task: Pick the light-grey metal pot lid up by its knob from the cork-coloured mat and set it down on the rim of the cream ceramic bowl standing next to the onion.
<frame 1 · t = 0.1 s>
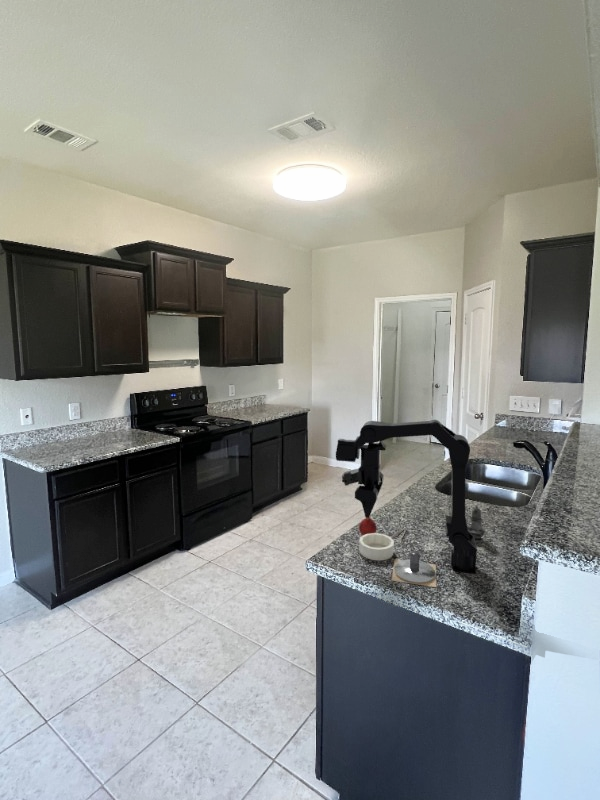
hand: (369, 511, 133), 15 cm above the counter, fingers open, 9 cm apart
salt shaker: (475, 539, 144), on the counter
bowl: (376, 552, 136), on the counter
lid: (414, 572, 124), resting on mat
onion: (367, 538, 146), on the counter
mat: (414, 573, 124), on the counter
tweezers: (402, 535, 150), on the counter
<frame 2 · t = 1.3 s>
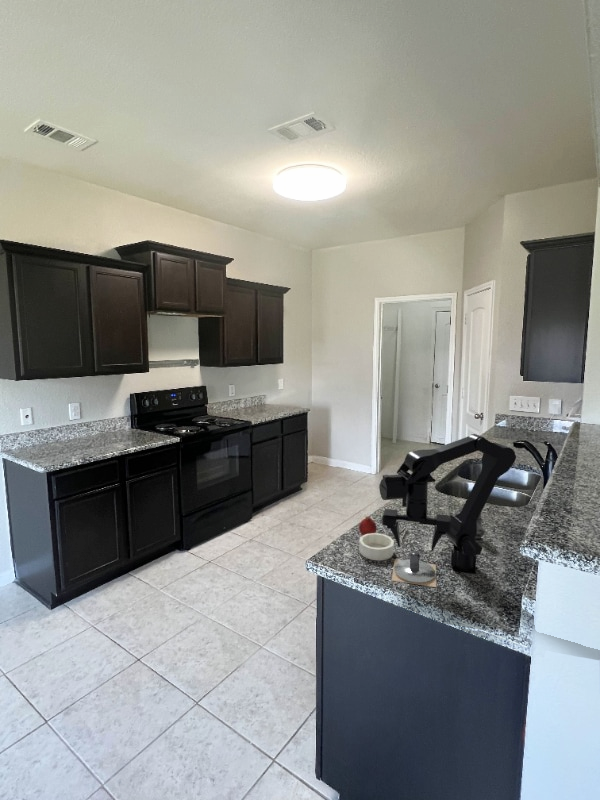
hand: (415, 548, 123), 8 cm above the counter, fingers open, 9 cm apart
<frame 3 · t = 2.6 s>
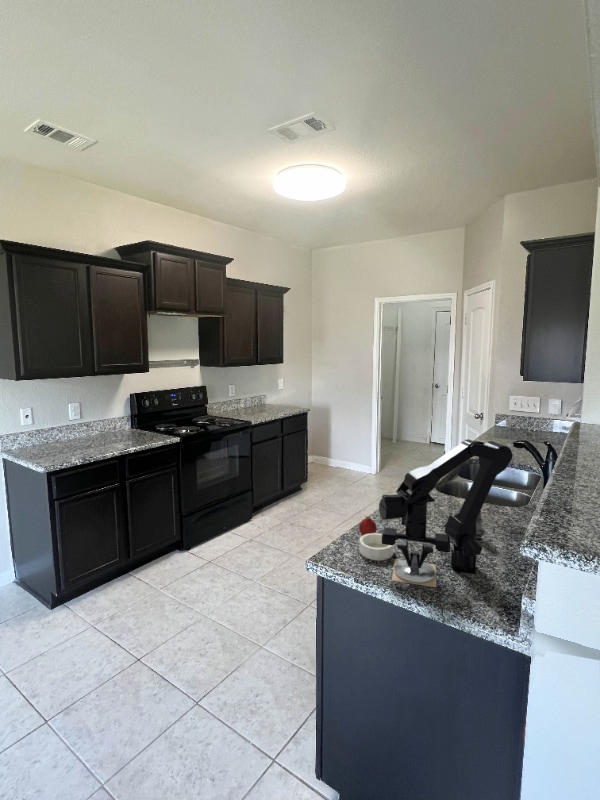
hand: (414, 566, 124), 2 cm above the counter, fingers closed on lid, 3 cm apart
lid: (414, 572, 124), resting on mat, touching gripper
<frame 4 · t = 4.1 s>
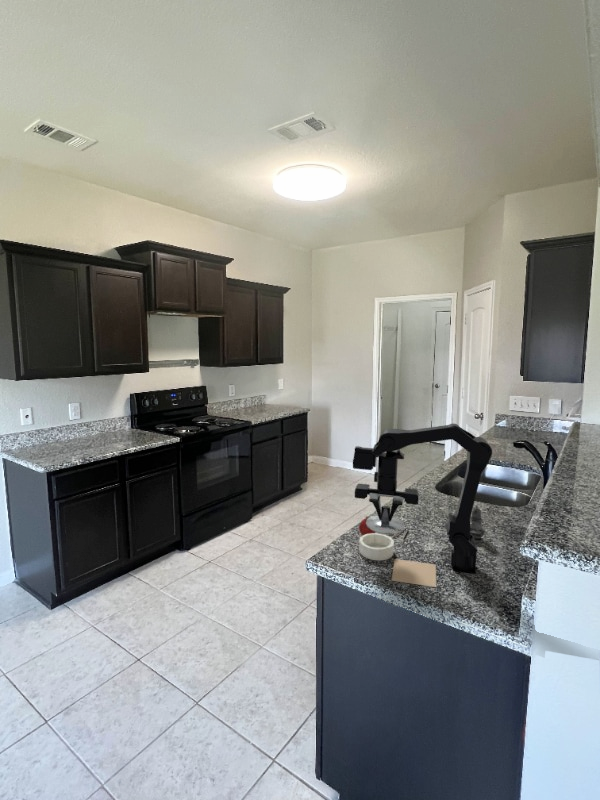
hand: (385, 520, 131), 13 cm above the counter, fingers closed on lid, 3 cm apart
lid: (385, 525, 131), point 11 cm above the counter, touching gripper
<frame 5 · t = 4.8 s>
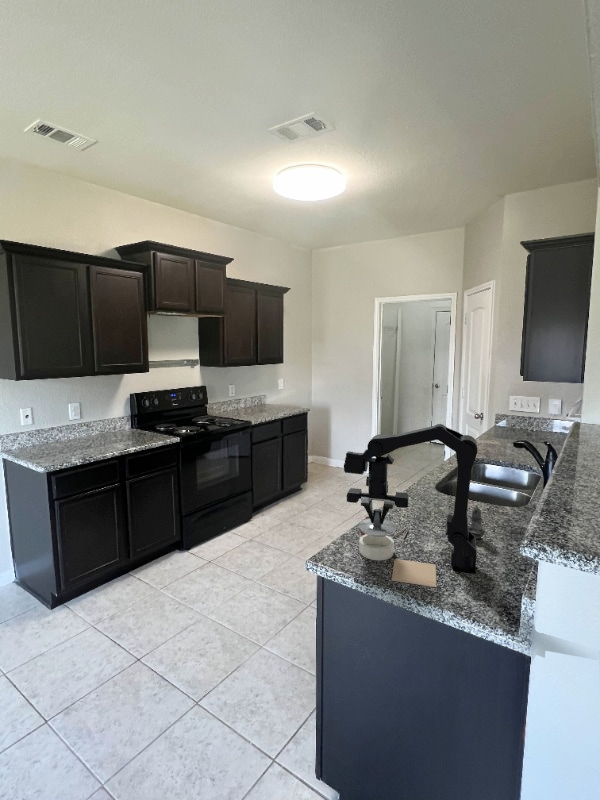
hand: (377, 523, 135), 10 cm above the counter, fingers closed on lid, 3 cm apart
lid: (377, 528, 135), point 8 cm above the counter, touching gripper
when the fingers open (7 cm above the counter, at t = 5.5 s): lid drops 1 cm, resting on bowl.
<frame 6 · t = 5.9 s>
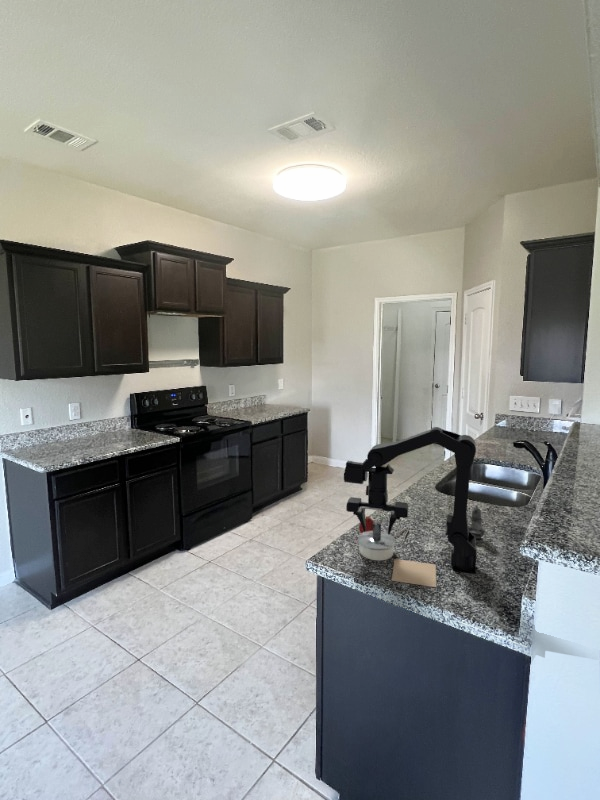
hand: (376, 532, 135), 7 cm above the counter, fingers open, 7 cm apart
lid: (376, 541, 135), point 4 cm above the counter, touching bowl
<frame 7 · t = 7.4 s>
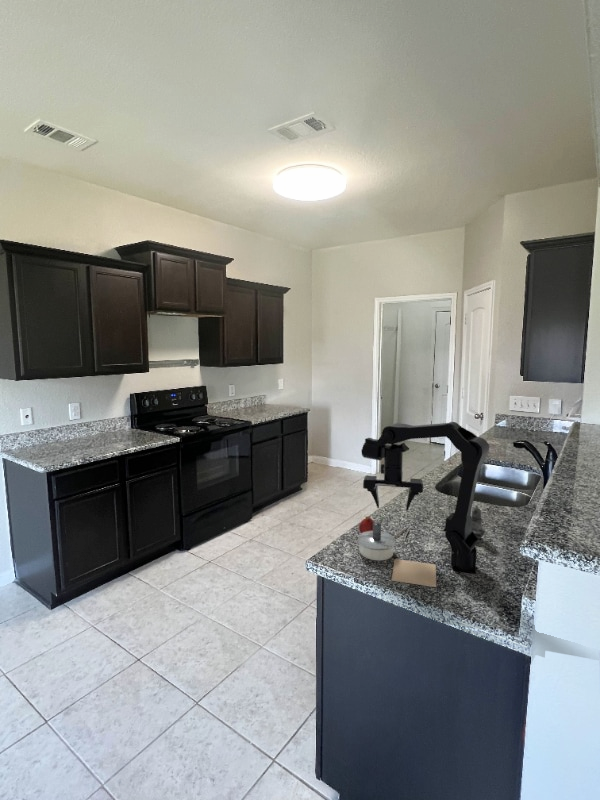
hand: (392, 508, 140), 12 cm above the counter, fingers open, 9 cm apart
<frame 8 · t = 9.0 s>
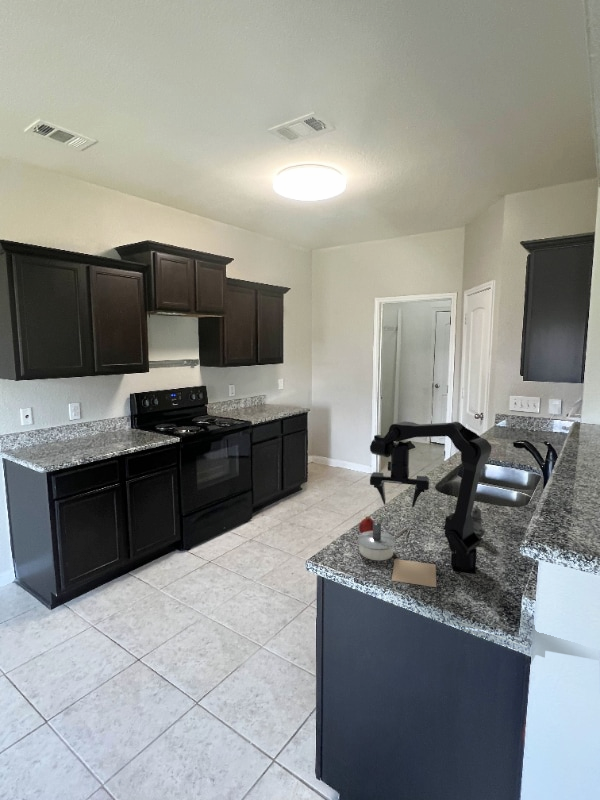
hand: (398, 505, 142), 13 cm above the counter, fingers open, 9 cm apart
at the end: lid 0.1 cm off-centre on the bowl, point 4.0 cm above the bowl's base; lid tilted 0°; the gripper is holding nothing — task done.
